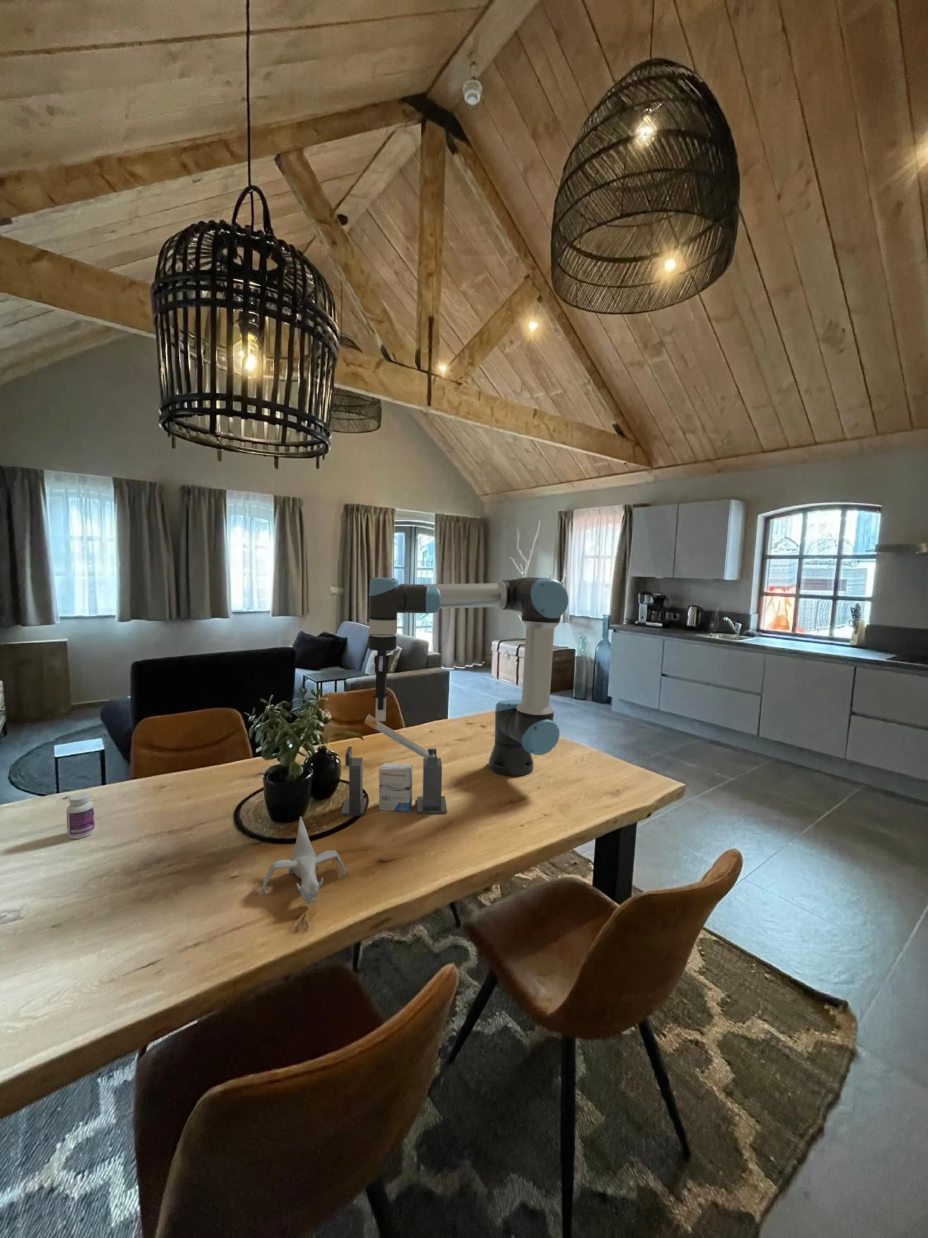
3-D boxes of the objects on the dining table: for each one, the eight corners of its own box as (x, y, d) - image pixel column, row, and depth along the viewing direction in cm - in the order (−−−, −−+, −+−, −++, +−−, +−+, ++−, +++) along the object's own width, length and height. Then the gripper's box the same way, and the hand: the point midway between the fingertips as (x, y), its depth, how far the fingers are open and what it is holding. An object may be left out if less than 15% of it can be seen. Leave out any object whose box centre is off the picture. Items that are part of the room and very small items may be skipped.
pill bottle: (100, 830, 125) (98, 793, 124) (78, 841, 120) (76, 802, 119) (85, 826, 127) (83, 790, 126) (62, 837, 122) (60, 798, 121)
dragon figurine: (250, 896, 102) (250, 856, 100) (299, 852, 116) (300, 815, 114) (311, 922, 98) (312, 881, 96) (354, 872, 112) (356, 835, 110)
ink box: (412, 804, 143) (413, 764, 142) (409, 812, 138) (409, 771, 137) (383, 802, 144) (383, 762, 143) (378, 810, 139) (378, 769, 138)
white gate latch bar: (433, 759, 143) (436, 753, 143) (433, 765, 138) (437, 760, 138) (365, 718, 140) (369, 713, 140) (363, 724, 135) (367, 718, 135)
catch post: (366, 800, 144) (366, 744, 143) (363, 815, 136) (363, 756, 134) (345, 801, 144) (345, 745, 142) (340, 816, 135) (340, 756, 133)
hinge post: (444, 798, 147) (445, 747, 145) (446, 813, 138) (447, 758, 136) (417, 799, 146) (418, 747, 144) (417, 814, 137) (418, 759, 136)
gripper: (370, 631, 142) (368, 713, 144) (366, 637, 129) (364, 727, 131) (397, 632, 143) (395, 713, 145) (395, 638, 130) (393, 727, 132)
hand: (380, 720), depth 138 cm, fingers closed
